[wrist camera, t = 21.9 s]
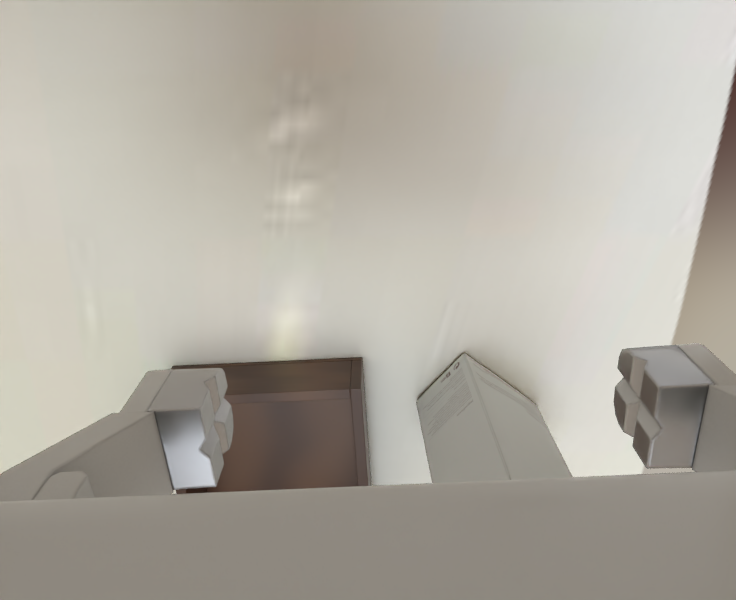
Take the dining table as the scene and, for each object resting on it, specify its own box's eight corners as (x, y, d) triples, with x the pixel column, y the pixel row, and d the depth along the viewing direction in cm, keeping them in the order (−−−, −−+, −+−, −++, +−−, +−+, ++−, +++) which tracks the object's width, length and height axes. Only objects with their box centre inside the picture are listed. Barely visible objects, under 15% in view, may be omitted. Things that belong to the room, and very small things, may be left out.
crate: (208, 529, 53) (194, 570, 49) (172, 366, 46) (153, 398, 42) (374, 523, 52) (374, 564, 48) (362, 357, 45) (361, 388, 41)
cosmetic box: (414, 399, 47) (431, 548, 33) (466, 346, 45) (507, 482, 31) (492, 453, 49) (538, 614, 35) (545, 405, 47) (615, 556, 33)
